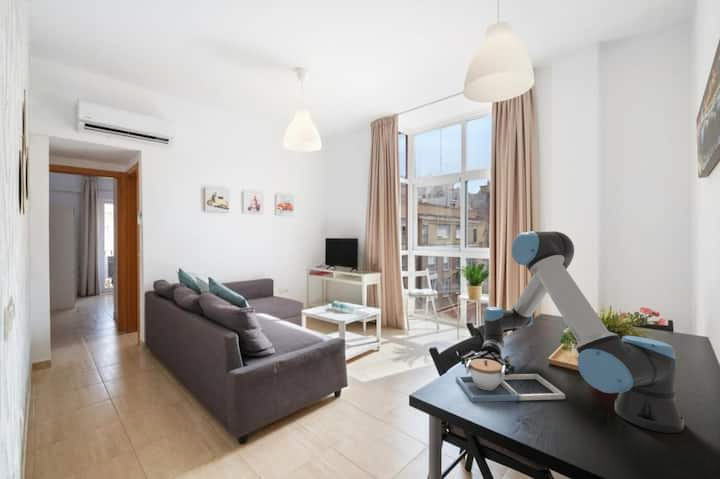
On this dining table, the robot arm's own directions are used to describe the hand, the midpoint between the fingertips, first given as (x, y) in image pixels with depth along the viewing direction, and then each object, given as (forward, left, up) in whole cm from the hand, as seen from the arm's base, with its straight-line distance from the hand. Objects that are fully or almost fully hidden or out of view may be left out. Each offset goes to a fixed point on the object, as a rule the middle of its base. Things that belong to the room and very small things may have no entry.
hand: (484, 373), depth 109 cm
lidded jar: (+4, -2, -6) cm, 8 cm away
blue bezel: (+4, -2, -7) cm, 8 cm away
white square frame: (+3, -17, -7) cm, 19 cm away
